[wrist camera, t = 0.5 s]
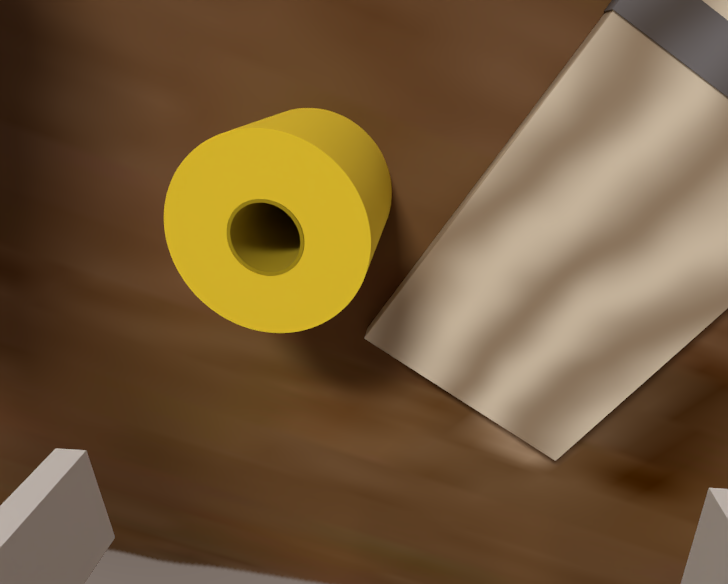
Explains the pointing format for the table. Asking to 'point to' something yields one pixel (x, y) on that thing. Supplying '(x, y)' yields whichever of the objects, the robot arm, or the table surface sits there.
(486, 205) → the board
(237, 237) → the tape roll
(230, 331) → the table surface
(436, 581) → the table surface
